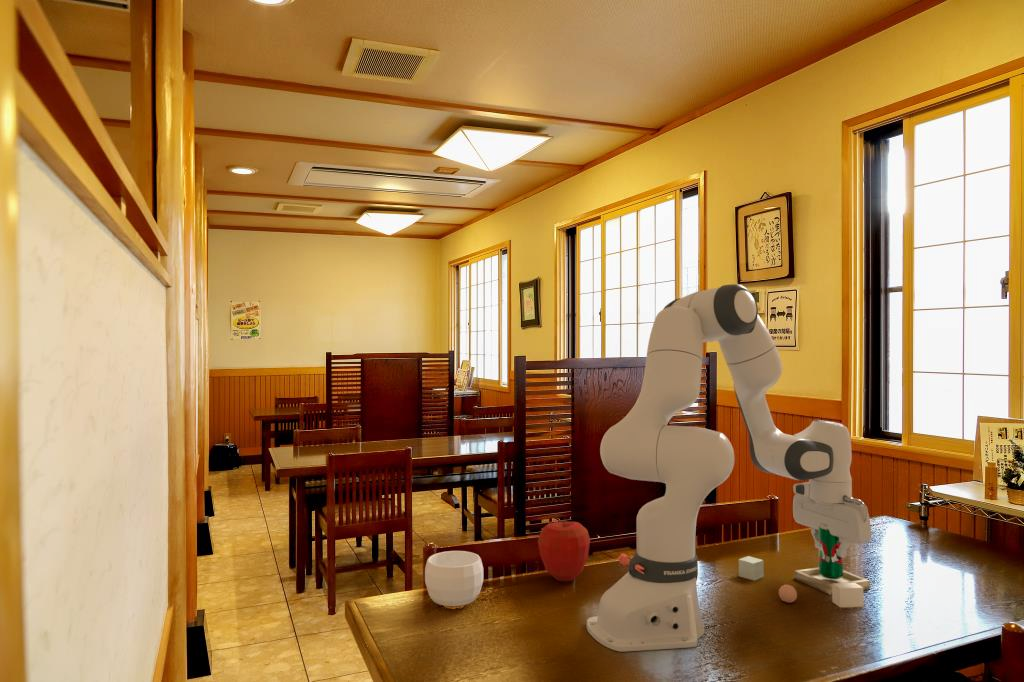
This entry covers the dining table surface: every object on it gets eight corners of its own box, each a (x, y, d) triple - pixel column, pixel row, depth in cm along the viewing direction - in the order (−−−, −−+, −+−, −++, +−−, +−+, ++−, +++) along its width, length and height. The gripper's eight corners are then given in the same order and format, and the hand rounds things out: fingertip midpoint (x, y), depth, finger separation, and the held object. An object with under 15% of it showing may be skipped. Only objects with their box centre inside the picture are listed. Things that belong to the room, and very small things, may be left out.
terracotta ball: (786, 606, 142) (786, 588, 142) (775, 600, 146) (774, 583, 146) (800, 604, 143) (800, 586, 143) (789, 598, 147) (788, 581, 147)
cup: (412, 605, 144) (412, 559, 144) (456, 589, 153) (455, 546, 153) (452, 621, 136) (452, 572, 136) (495, 603, 145) (495, 557, 145)
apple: (578, 567, 168) (577, 510, 168) (599, 583, 156) (599, 522, 156) (530, 573, 164) (530, 514, 164) (549, 590, 152) (548, 527, 152)
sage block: (753, 580, 158) (753, 563, 158) (738, 576, 161) (738, 559, 161) (763, 577, 160) (763, 560, 160) (748, 572, 164) (748, 556, 164)
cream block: (840, 607, 142) (839, 588, 142) (832, 602, 145) (832, 583, 145) (863, 607, 142) (863, 587, 142) (855, 601, 145) (855, 582, 145)
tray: (829, 594, 149) (829, 586, 149) (794, 578, 159) (794, 570, 159) (869, 588, 152) (869, 580, 152) (832, 573, 163) (832, 565, 163)
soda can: (844, 574, 156) (844, 522, 156) (842, 581, 152) (841, 527, 152) (820, 571, 159) (820, 519, 159) (817, 577, 155) (817, 524, 155)
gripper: (878, 500, 147) (878, 565, 147) (809, 482, 166) (809, 539, 166) (855, 502, 145) (855, 568, 145) (788, 484, 164) (788, 541, 164)
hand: (830, 552), depth 156 cm, fingers closed on soda can, 5 cm apart
